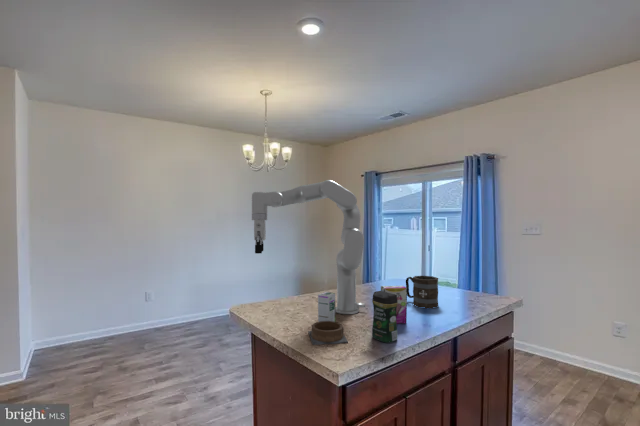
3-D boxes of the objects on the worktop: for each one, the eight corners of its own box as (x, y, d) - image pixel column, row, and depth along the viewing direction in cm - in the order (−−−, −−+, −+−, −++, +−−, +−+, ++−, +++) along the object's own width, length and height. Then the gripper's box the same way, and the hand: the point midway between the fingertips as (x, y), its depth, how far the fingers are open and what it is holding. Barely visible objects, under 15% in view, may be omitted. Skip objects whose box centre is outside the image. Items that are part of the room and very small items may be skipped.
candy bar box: (383, 325, 148) (383, 288, 148) (379, 321, 153) (379, 285, 153) (407, 323, 150) (407, 287, 150) (402, 320, 155) (402, 285, 155)
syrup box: (329, 329, 142) (329, 295, 142) (317, 327, 145) (317, 293, 145) (335, 325, 147) (335, 292, 147) (324, 323, 150) (324, 291, 150)
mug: (443, 305, 181) (443, 278, 181) (429, 310, 172) (429, 281, 172) (413, 298, 196) (413, 273, 196) (398, 302, 188) (398, 275, 188)
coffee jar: (368, 337, 132) (368, 291, 133) (382, 333, 137) (382, 288, 137) (387, 345, 125) (387, 295, 125) (401, 340, 130) (401, 292, 130)
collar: (340, 330, 140) (340, 320, 140) (348, 342, 127) (348, 331, 127) (308, 332, 138) (308, 321, 138) (312, 344, 125) (312, 332, 125)
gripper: (266, 217, 154) (265, 254, 154) (268, 217, 172) (268, 250, 172) (249, 217, 154) (249, 254, 154) (253, 217, 171) (253, 250, 171)
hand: (259, 252), depth 163 cm, fingers open, 9 cm apart
